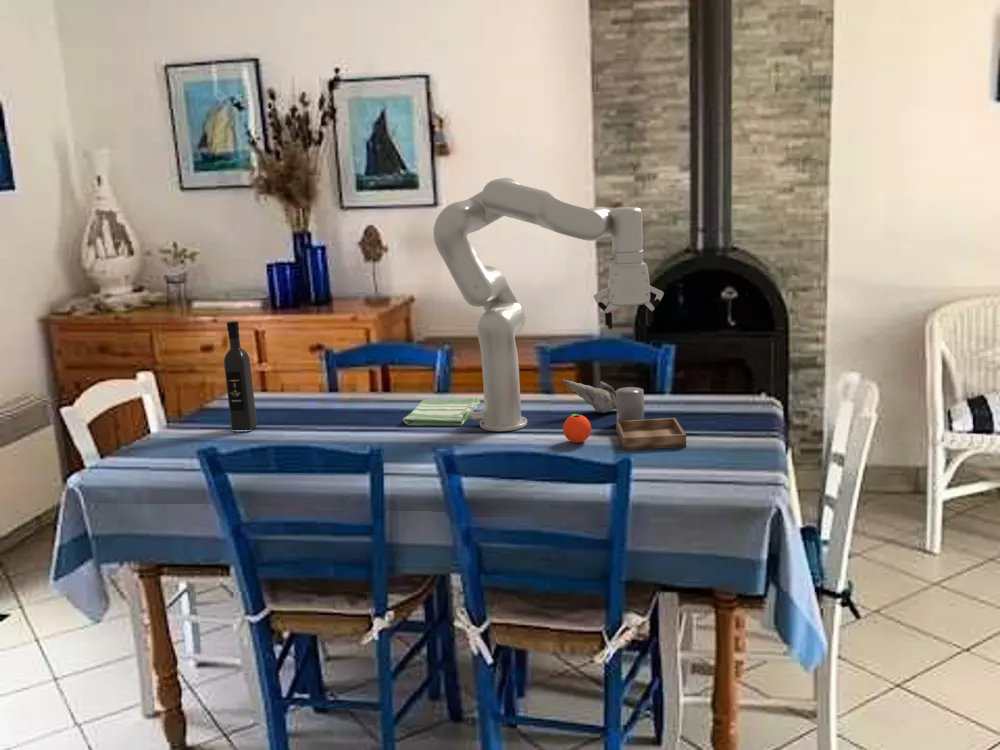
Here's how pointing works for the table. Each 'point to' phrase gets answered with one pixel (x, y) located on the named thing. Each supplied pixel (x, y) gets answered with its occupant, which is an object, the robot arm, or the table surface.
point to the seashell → (596, 395)
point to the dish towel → (442, 411)
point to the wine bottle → (239, 383)
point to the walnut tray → (650, 434)
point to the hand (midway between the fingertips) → (629, 326)
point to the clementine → (577, 428)
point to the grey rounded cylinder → (630, 403)
